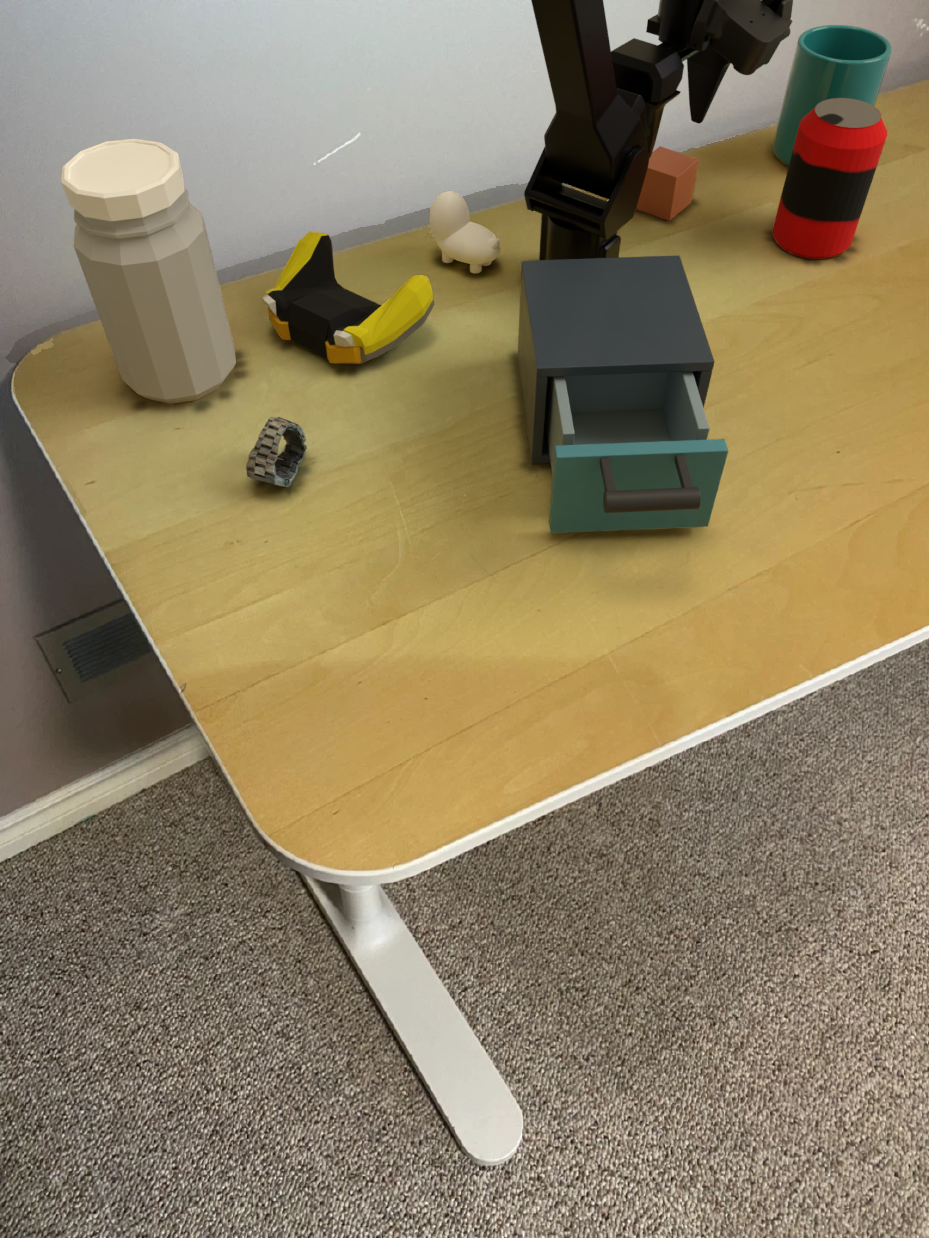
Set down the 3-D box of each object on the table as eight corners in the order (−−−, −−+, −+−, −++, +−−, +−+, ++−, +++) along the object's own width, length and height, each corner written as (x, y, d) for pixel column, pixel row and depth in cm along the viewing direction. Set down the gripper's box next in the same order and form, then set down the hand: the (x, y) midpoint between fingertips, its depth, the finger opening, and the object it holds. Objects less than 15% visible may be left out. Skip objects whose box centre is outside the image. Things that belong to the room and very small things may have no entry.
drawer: (721, 574, 66) (744, 496, 60) (556, 581, 66) (564, 503, 60) (676, 413, 77) (693, 333, 71) (534, 419, 77) (539, 339, 71)
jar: (179, 325, 86) (120, 121, 72) (263, 361, 83) (218, 154, 69) (99, 384, 81) (19, 177, 67) (184, 425, 78) (119, 215, 64)
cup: (876, 137, 106) (912, 25, 97) (840, 185, 100) (875, 70, 91) (798, 118, 109) (826, 8, 100) (758, 163, 103) (784, 49, 94)
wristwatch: (269, 481, 76) (239, 475, 71) (294, 420, 75) (265, 410, 70) (302, 497, 75) (273, 492, 70) (327, 436, 74) (300, 426, 70)
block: (630, 207, 98) (636, 164, 94) (653, 189, 100) (659, 146, 96) (669, 221, 96) (676, 177, 93) (691, 202, 98) (699, 159, 95)
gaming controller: (320, 275, 91) (245, 326, 86) (312, 220, 87) (232, 270, 82) (445, 331, 85) (372, 389, 80) (443, 276, 81) (366, 333, 76)
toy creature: (444, 237, 95) (442, 175, 90) (512, 262, 92) (514, 199, 87) (416, 259, 92) (413, 196, 88) (486, 285, 90) (486, 222, 85)
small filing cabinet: (692, 458, 75) (715, 361, 68) (531, 464, 75) (536, 368, 67) (662, 350, 83) (679, 254, 76) (517, 356, 83) (521, 260, 76)
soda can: (754, 235, 94) (785, 109, 85) (807, 210, 97) (842, 85, 88) (814, 270, 91) (853, 142, 81) (867, 243, 93) (911, 116, 84)
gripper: (726, 10, 73) (691, 206, 85) (840, -59, 82) (793, 128, 94) (606, -24, 77) (588, 167, 90) (726, -85, 86) (695, 96, 98)
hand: (671, 139), depth 93 cm, fingers open, 9 cm apart
